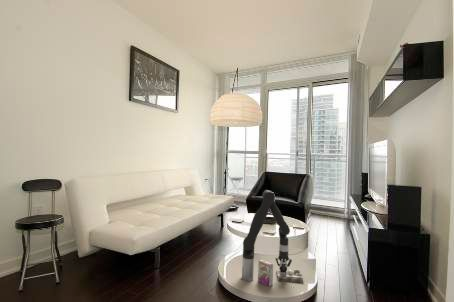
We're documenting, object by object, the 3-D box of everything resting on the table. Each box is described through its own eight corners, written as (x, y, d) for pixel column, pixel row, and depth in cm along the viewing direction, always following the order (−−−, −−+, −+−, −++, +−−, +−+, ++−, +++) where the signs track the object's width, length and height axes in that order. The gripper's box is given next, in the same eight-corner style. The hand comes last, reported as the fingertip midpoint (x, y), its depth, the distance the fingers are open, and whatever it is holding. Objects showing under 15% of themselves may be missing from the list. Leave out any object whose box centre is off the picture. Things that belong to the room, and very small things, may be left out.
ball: (288, 275, 199) (288, 270, 199) (287, 273, 203) (287, 268, 203) (293, 276, 198) (293, 271, 199) (292, 274, 202) (292, 269, 203)
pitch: (278, 281, 192) (278, 275, 192) (276, 272, 207) (276, 267, 208) (303, 283, 190) (303, 277, 190) (299, 274, 205) (299, 269, 206)
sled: (280, 278, 193) (280, 264, 193) (278, 271, 204) (278, 259, 205) (286, 278, 192) (286, 265, 193) (284, 272, 203) (284, 259, 204)
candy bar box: (257, 281, 189) (258, 260, 190) (261, 279, 192) (262, 259, 194) (269, 287, 181) (269, 265, 182) (272, 285, 184) (273, 263, 186)
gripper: (275, 250, 193) (275, 272, 192) (293, 252, 191) (292, 274, 190) (274, 247, 200) (274, 268, 199) (291, 248, 199) (291, 270, 198)
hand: (283, 271), depth 195 cm, fingers closed on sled, 3 cm apart
